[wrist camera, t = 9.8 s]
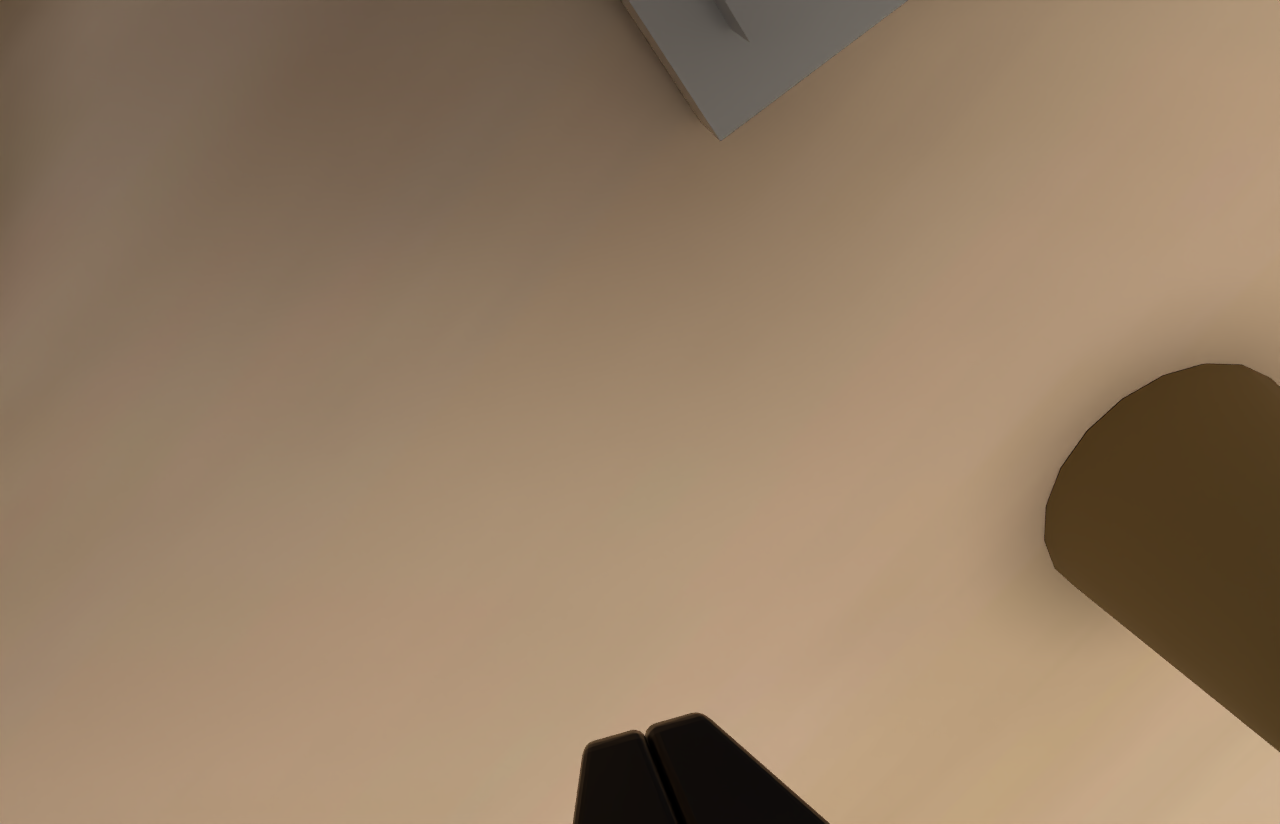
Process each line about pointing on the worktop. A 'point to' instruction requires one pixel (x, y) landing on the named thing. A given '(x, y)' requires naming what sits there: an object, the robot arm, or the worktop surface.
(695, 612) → the worktop surface
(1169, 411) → the cork
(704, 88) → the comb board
